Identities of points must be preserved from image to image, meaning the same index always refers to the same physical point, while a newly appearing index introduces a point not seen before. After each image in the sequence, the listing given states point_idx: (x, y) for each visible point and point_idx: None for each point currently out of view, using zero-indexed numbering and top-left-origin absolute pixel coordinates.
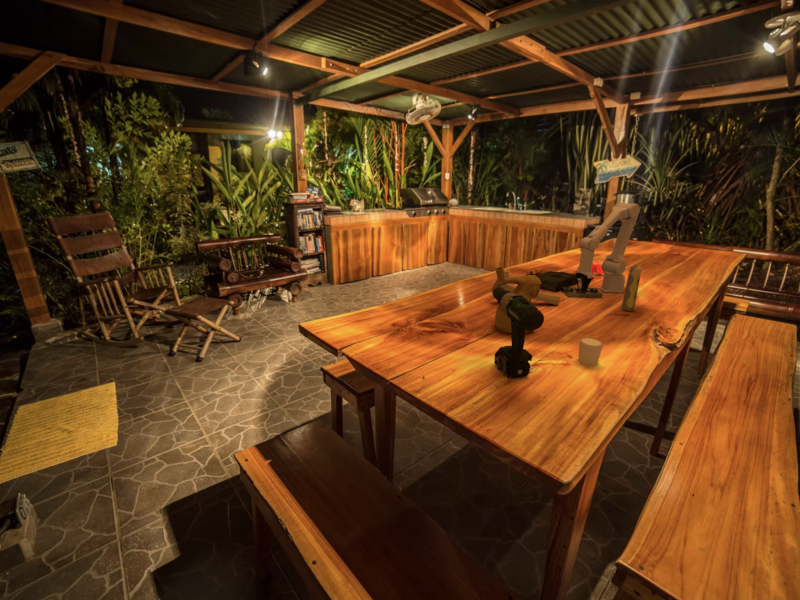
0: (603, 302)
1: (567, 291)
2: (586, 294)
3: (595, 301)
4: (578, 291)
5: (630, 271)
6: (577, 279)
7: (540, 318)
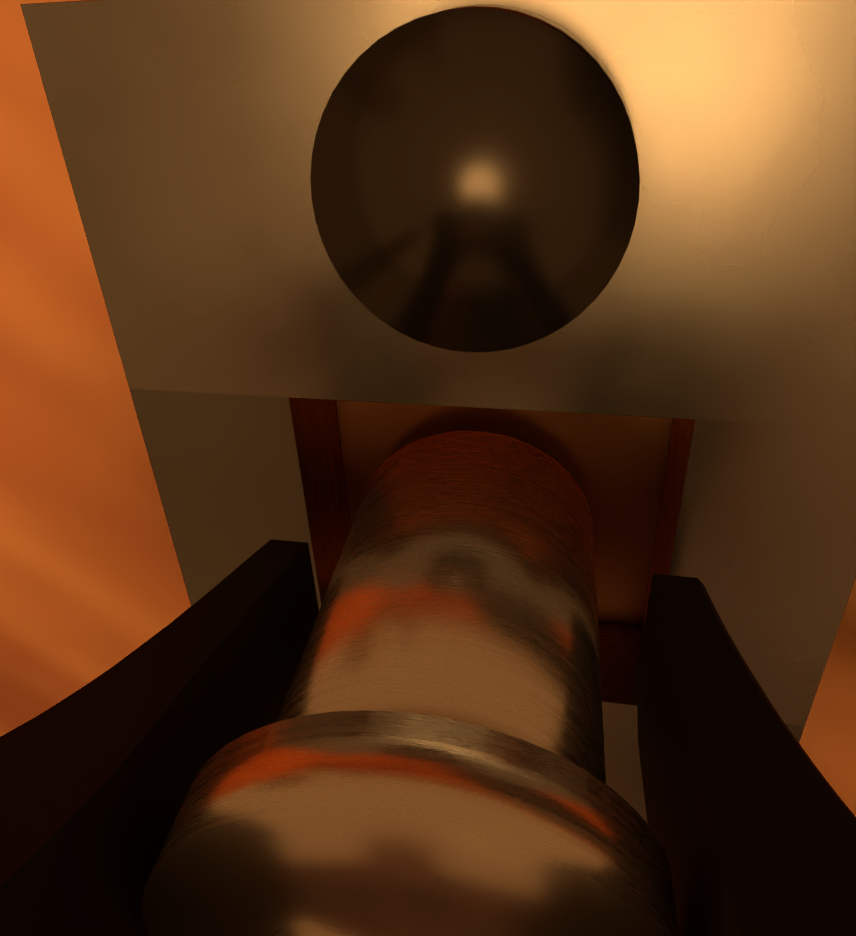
0: (21, 648)
1: (283, 34)
2: (187, 542)
3: (22, 556)
4: (415, 457)
5: None
6: (492, 763)
7: None
